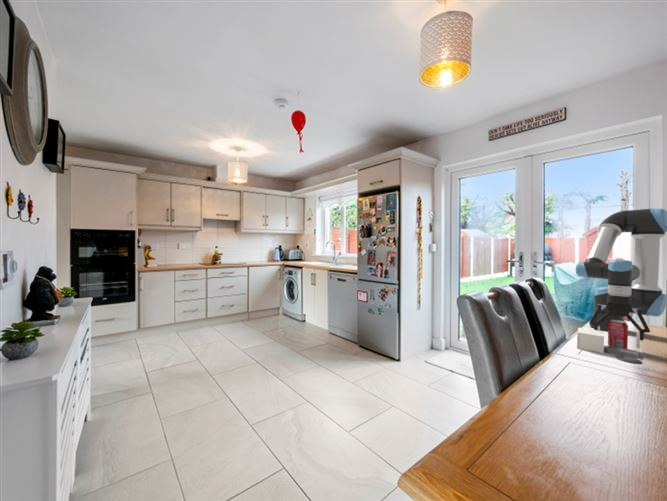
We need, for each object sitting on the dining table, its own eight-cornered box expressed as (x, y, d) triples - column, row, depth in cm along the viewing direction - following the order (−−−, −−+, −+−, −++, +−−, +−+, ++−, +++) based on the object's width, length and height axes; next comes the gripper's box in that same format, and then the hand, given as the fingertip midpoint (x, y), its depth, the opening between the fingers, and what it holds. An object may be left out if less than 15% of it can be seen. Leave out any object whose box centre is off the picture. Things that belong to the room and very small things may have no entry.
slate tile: (606, 350, 126) (607, 345, 126) (636, 355, 120) (636, 350, 120) (607, 353, 122) (607, 348, 122) (638, 359, 116) (638, 354, 116)
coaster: (615, 355, 119) (615, 354, 119) (640, 359, 114) (640, 358, 114) (616, 360, 114) (616, 359, 114) (642, 365, 109) (642, 364, 109)
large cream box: (577, 348, 127) (577, 332, 126) (578, 342, 135) (578, 327, 135) (603, 353, 121) (604, 336, 121) (602, 346, 129) (603, 331, 129)
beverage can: (618, 346, 131) (619, 319, 130) (631, 351, 124) (632, 323, 124) (603, 345, 131) (604, 319, 131) (615, 350, 125) (616, 322, 125)
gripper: (583, 292, 133) (581, 339, 133) (661, 299, 117) (659, 353, 117) (583, 290, 138) (581, 335, 139) (658, 297, 122) (656, 348, 123)
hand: (617, 343), depth 128 cm, fingers open, 12 cm apart
